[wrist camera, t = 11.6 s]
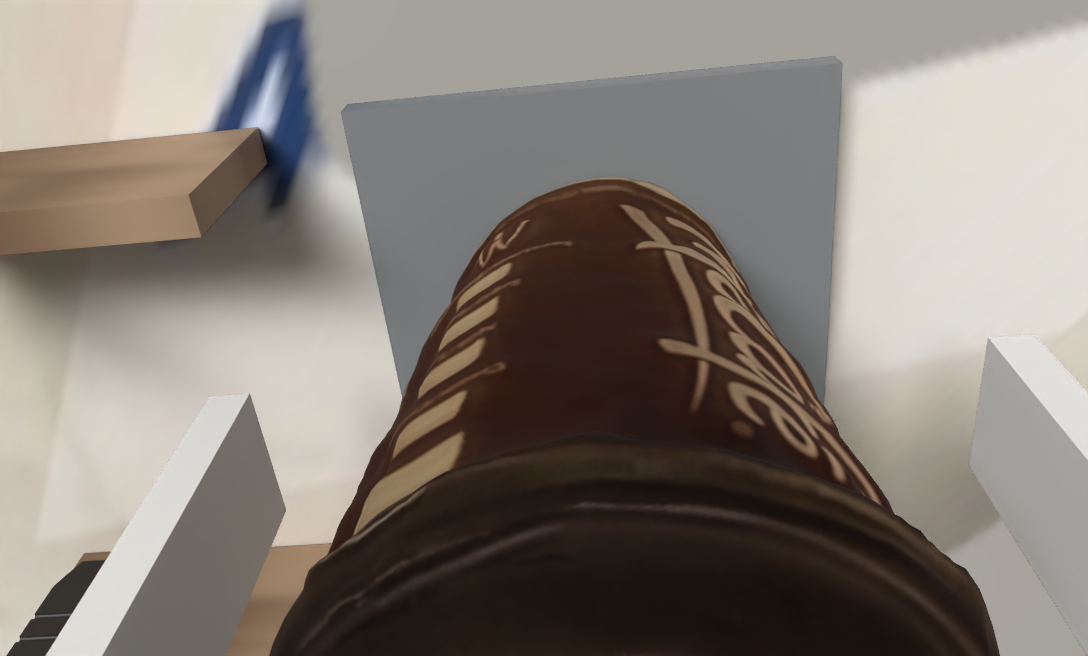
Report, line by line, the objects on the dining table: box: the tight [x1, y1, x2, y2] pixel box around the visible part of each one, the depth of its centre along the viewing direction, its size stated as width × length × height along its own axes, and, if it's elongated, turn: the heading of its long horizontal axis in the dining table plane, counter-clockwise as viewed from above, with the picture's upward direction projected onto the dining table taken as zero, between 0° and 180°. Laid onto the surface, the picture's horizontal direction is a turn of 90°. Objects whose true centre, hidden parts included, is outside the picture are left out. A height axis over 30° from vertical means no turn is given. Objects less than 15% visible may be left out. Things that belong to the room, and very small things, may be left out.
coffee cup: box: [269, 177, 1000, 656], centre depth 15 cm, size 9×8×13 cm
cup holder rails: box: [0, 127, 332, 656], centre depth 20 cm, size 8×13×6 cm, turn 6°
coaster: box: [341, 56, 842, 406], centre depth 21 cm, size 10×10×1 cm
